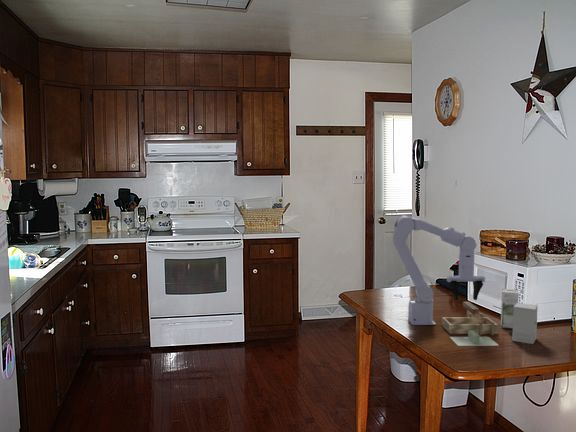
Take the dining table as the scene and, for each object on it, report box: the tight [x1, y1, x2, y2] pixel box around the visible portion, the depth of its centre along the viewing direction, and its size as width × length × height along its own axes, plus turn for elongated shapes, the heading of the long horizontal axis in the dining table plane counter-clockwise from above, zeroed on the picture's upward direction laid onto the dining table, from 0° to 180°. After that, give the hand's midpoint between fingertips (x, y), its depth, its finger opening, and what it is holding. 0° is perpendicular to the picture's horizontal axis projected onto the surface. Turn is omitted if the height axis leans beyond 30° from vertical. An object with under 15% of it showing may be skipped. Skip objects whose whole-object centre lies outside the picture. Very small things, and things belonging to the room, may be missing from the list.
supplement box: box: [511, 302, 539, 345], centre depth 194 cm, size 7×7×13 cm
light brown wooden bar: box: [462, 301, 480, 315], centre depth 217 cm, size 2×12×2 cm, turn 0°
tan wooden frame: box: [441, 312, 499, 336], centre depth 206 cm, size 18×13×5 cm
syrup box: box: [500, 288, 519, 330], centre depth 209 cm, size 6×6×14 cm
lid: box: [449, 330, 500, 347], centre depth 192 cm, size 14×10×4 cm, turn 90°
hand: (465, 299), depth 213 cm, fingers open, 7 cm apart
